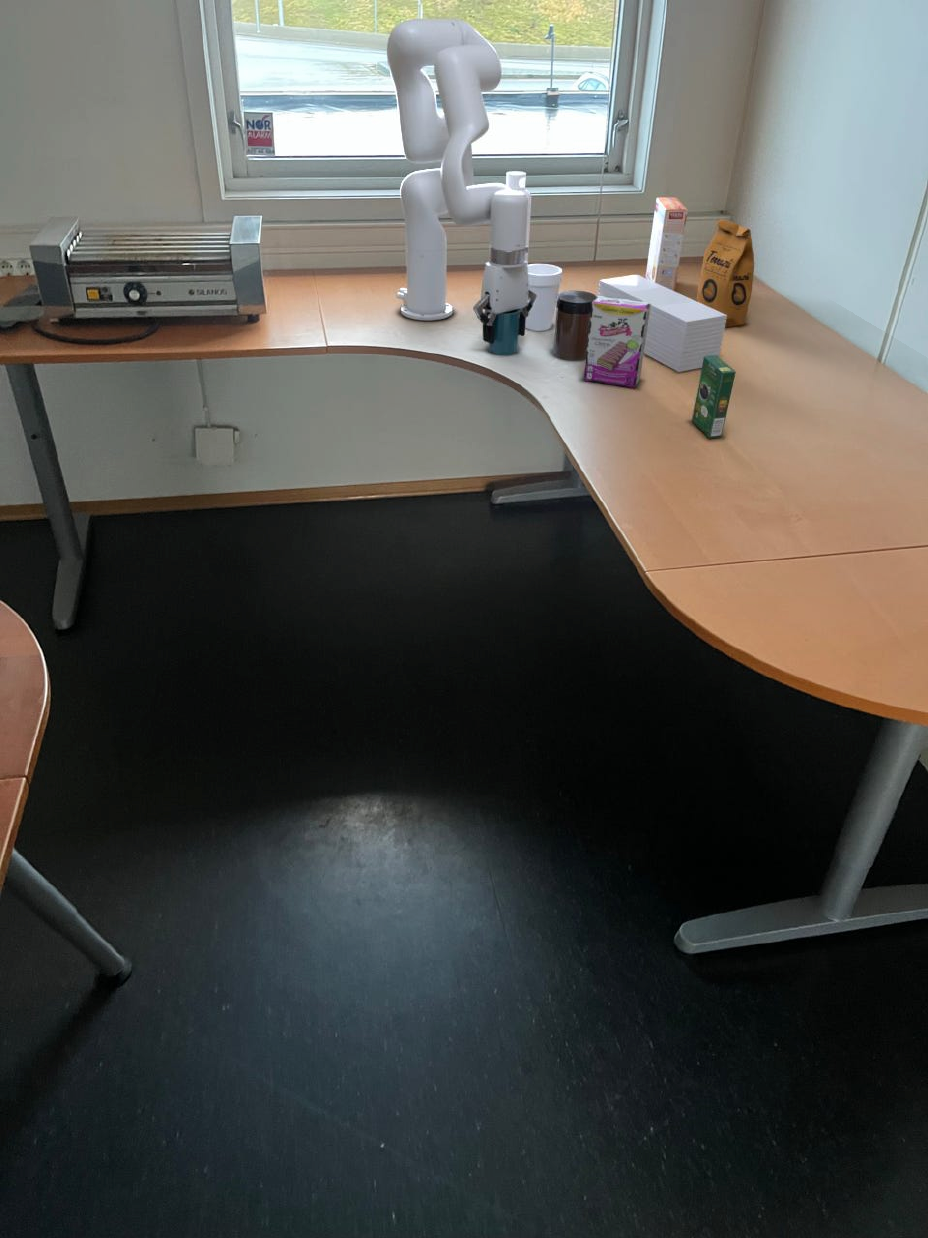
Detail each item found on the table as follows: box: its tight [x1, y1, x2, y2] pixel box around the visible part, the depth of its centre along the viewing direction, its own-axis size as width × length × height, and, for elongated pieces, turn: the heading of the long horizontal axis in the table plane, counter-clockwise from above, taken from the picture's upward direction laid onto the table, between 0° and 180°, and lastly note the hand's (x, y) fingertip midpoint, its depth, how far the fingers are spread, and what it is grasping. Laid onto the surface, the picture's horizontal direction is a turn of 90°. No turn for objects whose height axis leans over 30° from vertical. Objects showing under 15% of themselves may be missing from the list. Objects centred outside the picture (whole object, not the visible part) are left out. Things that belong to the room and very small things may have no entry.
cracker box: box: [644, 196, 688, 292], centre depth 237 cm, size 14×6×21 cm, turn 179°
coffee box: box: [691, 355, 737, 440], centre depth 168 cm, size 8×3×13 cm, turn 13°
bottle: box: [505, 170, 532, 265], centre depth 230 cm, size 8×8×28 cm
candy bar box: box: [583, 295, 651, 389], centre depth 185 cm, size 11×5×16 cm, turn 71°
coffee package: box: [696, 218, 755, 328], centre depth 216 cm, size 10×12×22 cm
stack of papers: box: [597, 274, 727, 373], centre depth 205 cm, size 32×11×11 cm, turn 27°
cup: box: [487, 309, 520, 356], centre depth 201 cm, size 7×7×9 cm
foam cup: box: [525, 263, 563, 332], centre depth 213 cm, size 10×9×13 cm
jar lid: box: [555, 290, 597, 314], centre depth 196 cm, size 8×8×2 cm
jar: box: [552, 306, 591, 362], centre depth 199 cm, size 8×8×12 cm
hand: (503, 337), depth 202 cm, fingers open, 8 cm apart
